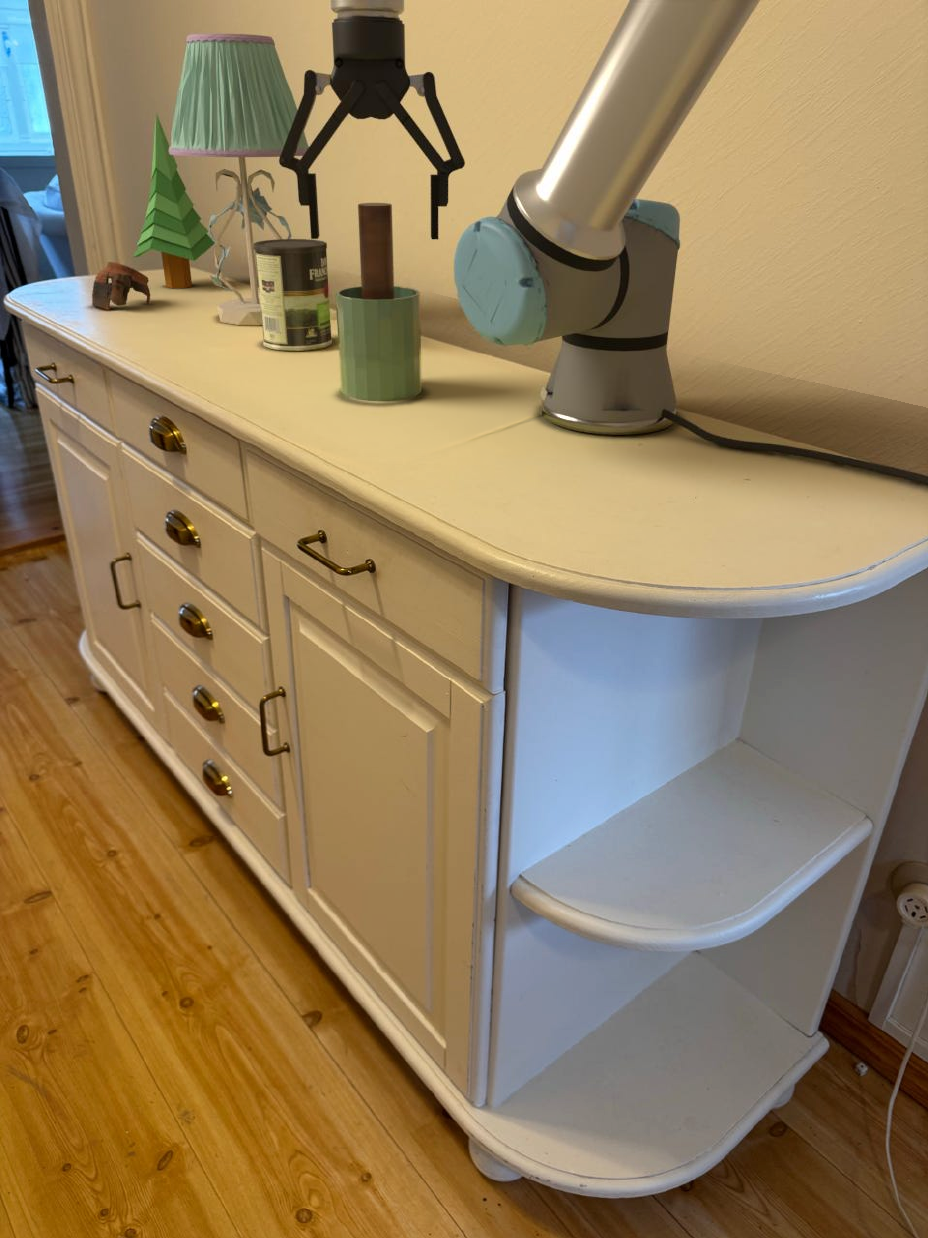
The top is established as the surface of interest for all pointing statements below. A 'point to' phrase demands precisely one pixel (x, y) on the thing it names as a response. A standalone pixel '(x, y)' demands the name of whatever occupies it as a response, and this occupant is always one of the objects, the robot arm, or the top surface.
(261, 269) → the coffee can
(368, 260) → the stick
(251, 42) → the table lamp
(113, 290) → the brown arched piece
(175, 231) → the decorative tree
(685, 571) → the top surface
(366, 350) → the tin
